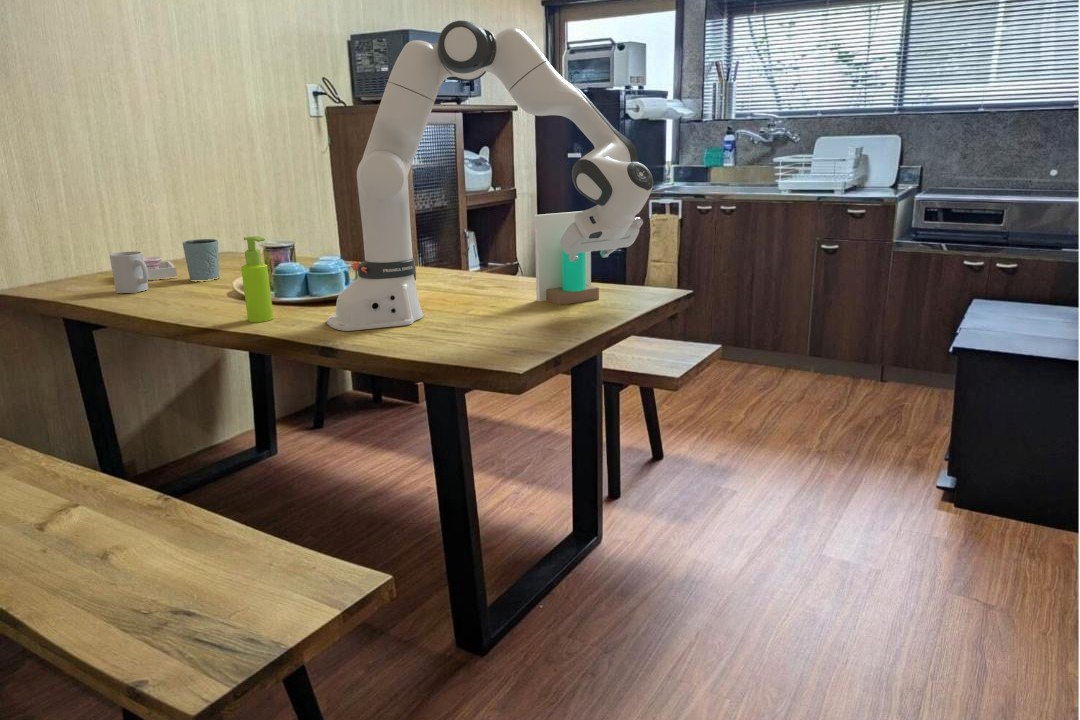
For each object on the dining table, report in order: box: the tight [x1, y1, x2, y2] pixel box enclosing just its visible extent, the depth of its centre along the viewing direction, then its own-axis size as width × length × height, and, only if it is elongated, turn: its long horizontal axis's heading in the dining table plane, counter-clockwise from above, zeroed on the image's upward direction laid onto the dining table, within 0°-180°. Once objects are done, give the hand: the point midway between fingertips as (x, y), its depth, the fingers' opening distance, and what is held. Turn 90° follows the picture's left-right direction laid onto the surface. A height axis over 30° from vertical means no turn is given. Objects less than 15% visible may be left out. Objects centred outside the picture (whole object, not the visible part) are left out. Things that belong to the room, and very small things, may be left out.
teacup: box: [143, 255, 162, 270], centre depth 248 cm, size 12×12×6 cm
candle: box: [562, 249, 585, 291], centre depth 200 cm, size 6×6×12 cm
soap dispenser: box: [240, 235, 274, 323], centre depth 186 cm, size 6×7×20 cm
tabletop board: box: [534, 210, 600, 306], centre depth 201 cm, size 16×8×22 cm, turn 121°
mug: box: [109, 251, 149, 294], centre depth 225 cm, size 12×8×11 cm
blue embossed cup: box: [182, 238, 221, 281], centre depth 241 cm, size 10×10×12 cm
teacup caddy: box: [148, 260, 178, 279], centre depth 248 cm, size 16×16×4 cm
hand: (587, 257), depth 195 cm, fingers open, 8 cm apart
